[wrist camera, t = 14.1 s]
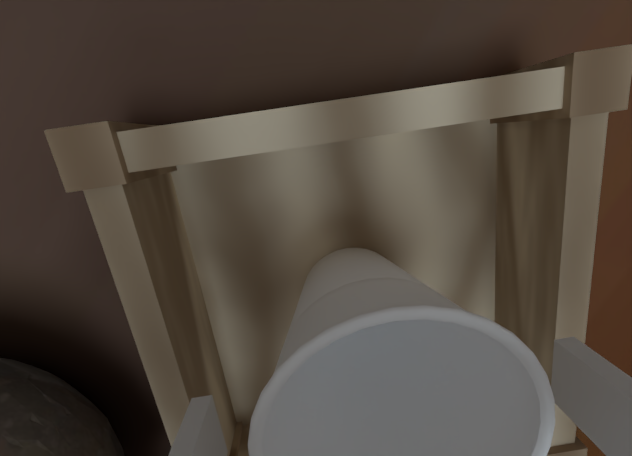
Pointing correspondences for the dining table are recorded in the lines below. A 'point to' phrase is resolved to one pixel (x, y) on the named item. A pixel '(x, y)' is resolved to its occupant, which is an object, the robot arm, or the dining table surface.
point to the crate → (350, 217)
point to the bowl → (49, 416)
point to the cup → (397, 373)
